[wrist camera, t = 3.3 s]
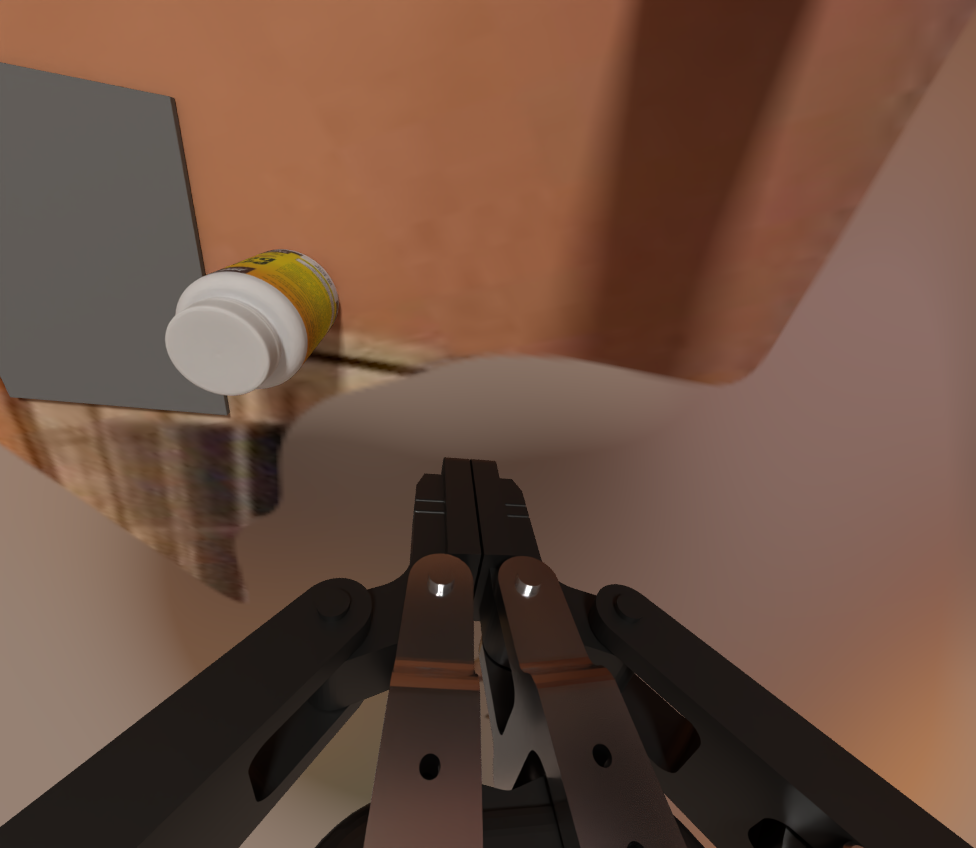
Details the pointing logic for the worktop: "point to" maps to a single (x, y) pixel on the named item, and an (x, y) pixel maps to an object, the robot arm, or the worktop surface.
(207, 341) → the supplement bottle
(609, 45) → the worktop surface
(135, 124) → the mat
